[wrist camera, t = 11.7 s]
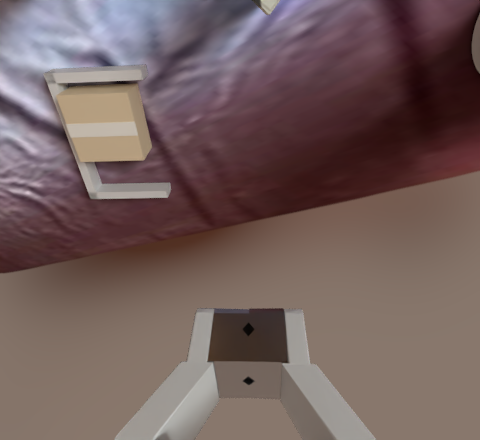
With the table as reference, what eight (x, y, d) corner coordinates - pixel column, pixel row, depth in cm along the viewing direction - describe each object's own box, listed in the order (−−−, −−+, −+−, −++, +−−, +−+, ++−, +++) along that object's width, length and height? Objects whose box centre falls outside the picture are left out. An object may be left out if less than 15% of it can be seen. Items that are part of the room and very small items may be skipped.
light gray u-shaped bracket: (146, 64, 42) (140, 69, 40) (171, 189, 53) (167, 197, 51) (53, 68, 43) (43, 73, 41) (96, 190, 54) (90, 199, 52)
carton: (138, 82, 44) (127, 92, 40) (152, 146, 49) (144, 160, 46) (71, 85, 45) (55, 95, 41) (93, 148, 50) (79, 162, 46)
